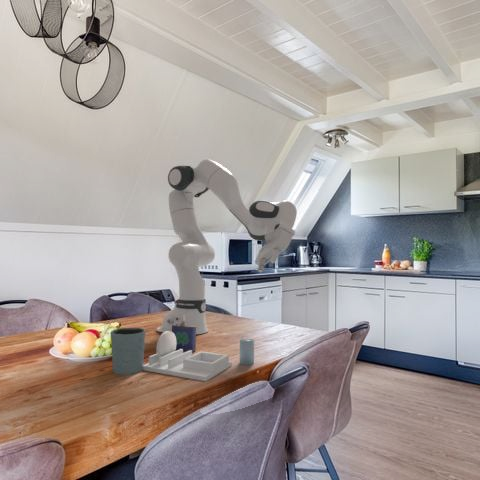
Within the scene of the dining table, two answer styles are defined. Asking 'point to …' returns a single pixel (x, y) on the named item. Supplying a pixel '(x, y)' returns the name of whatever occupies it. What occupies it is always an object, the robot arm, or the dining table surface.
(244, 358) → the grey upright block
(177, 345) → the blue printed box
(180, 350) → the rack
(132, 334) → the green cup
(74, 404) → the dining table surface
